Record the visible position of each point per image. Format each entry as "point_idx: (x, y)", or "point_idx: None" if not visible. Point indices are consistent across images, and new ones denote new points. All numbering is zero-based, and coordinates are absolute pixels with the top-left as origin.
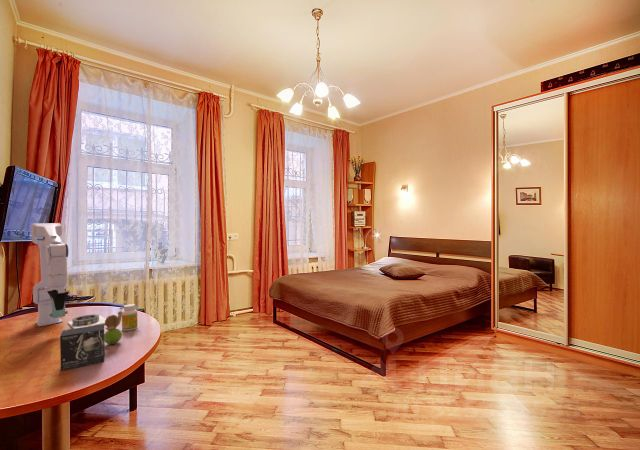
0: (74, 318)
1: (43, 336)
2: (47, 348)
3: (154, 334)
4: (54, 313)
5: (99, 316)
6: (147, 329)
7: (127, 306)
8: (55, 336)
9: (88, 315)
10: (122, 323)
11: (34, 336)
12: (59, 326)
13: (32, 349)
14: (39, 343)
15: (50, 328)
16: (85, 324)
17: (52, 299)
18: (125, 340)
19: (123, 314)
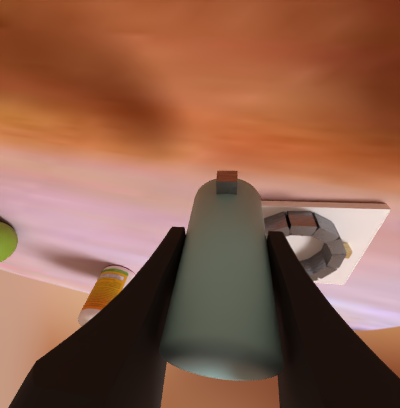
0: (331, 235)
1: (249, 94)
2: (30, 90)
3: (45, 281)
4: (197, 204)
5: (327, 279)
6: (92, 287)
7: None
8: (199, 136)
9: (321, 269)
10: (104, 282)
11: (299, 53)
12: (375, 173)
13: (42, 30)
14: (129, 67)
15: (387, 139)
16: None
17: (194, 305)
18: (25, 246)
19: (85, 310)
